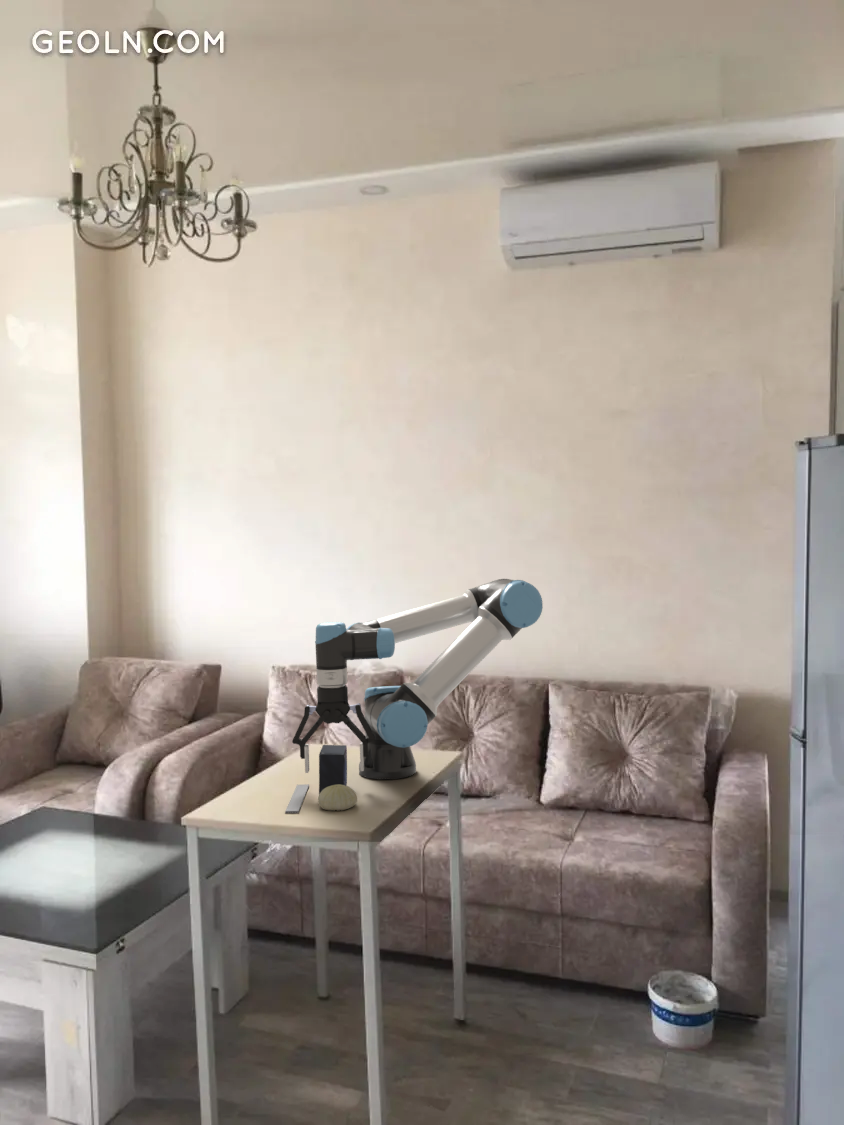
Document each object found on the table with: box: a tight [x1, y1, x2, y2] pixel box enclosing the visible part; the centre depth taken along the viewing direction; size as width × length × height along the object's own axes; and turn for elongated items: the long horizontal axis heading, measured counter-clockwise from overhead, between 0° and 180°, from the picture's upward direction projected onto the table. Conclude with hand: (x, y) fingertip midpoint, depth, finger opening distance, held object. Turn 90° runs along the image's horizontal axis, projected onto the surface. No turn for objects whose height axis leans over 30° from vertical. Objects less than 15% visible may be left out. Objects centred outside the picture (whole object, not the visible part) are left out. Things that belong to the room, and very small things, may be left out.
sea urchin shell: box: [317, 784, 358, 811], centre depth 223 cm, size 9×8×8 cm
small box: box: [318, 744, 348, 795], centre depth 237 cm, size 11×6×10 cm, turn 1°
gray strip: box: [284, 783, 310, 814], centre depth 230 cm, size 3×23×1 cm, turn 1°
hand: (334, 770), depth 237 cm, fingers open, 13 cm apart
